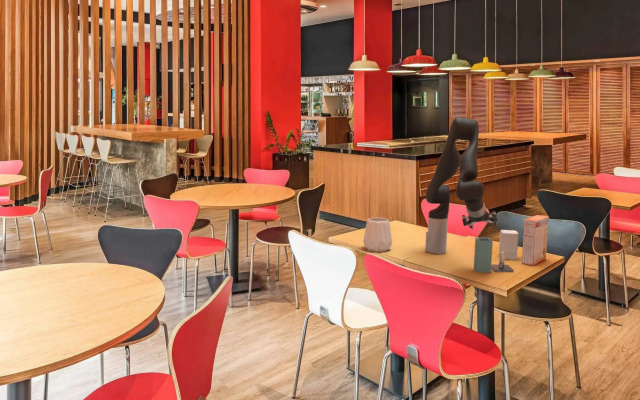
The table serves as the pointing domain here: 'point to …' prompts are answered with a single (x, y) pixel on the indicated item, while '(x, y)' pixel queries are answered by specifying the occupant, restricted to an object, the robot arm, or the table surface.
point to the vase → (377, 235)
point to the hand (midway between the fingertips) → (481, 225)
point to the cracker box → (535, 239)
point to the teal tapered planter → (483, 255)
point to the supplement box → (509, 244)
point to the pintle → (501, 265)
